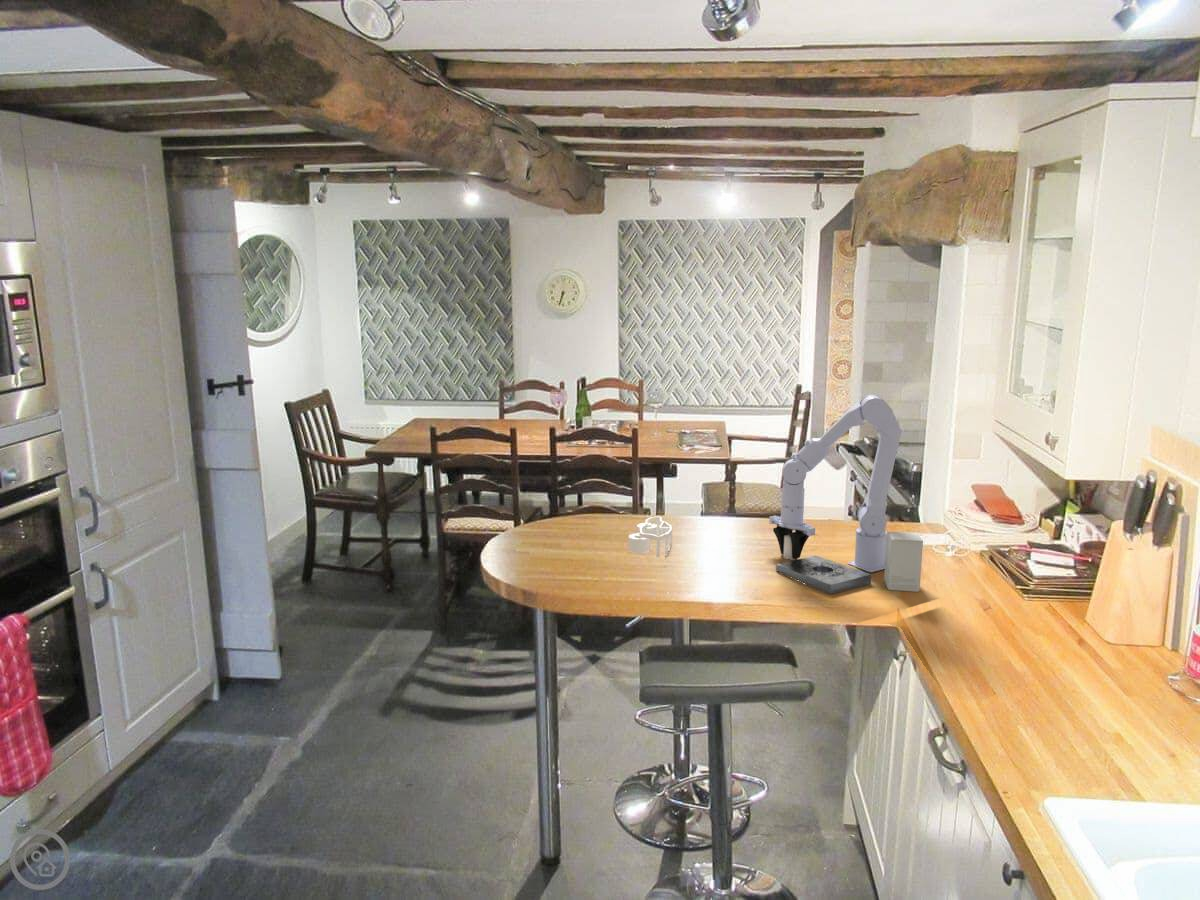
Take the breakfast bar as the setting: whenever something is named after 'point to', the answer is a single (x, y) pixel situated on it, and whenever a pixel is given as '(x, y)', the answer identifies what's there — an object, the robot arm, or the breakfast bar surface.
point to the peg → (787, 547)
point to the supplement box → (903, 561)
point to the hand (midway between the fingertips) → (790, 555)
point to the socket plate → (824, 574)
